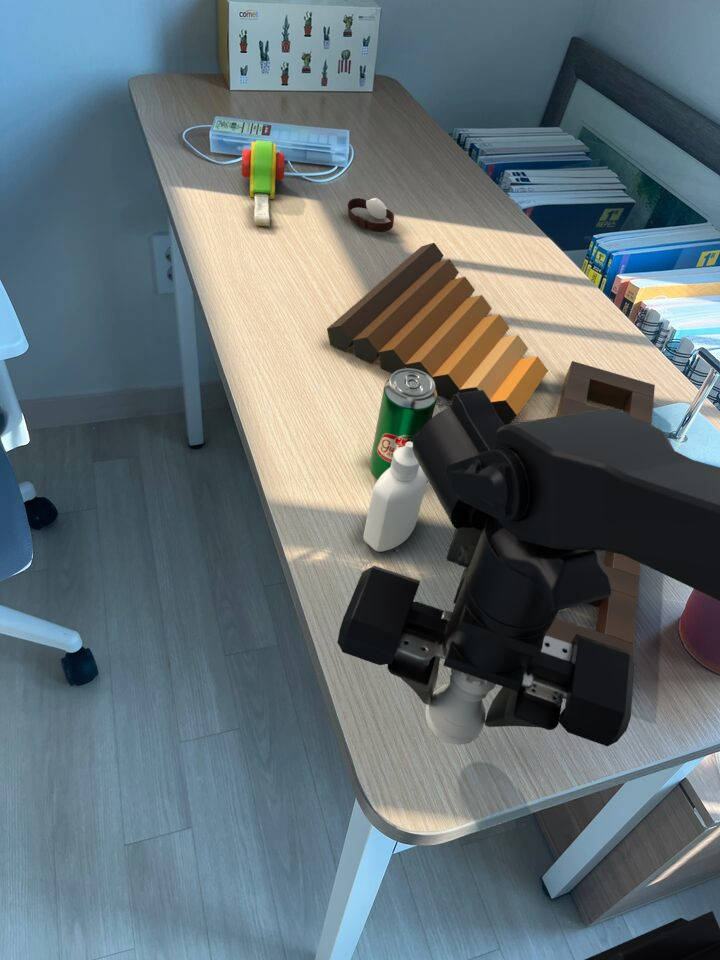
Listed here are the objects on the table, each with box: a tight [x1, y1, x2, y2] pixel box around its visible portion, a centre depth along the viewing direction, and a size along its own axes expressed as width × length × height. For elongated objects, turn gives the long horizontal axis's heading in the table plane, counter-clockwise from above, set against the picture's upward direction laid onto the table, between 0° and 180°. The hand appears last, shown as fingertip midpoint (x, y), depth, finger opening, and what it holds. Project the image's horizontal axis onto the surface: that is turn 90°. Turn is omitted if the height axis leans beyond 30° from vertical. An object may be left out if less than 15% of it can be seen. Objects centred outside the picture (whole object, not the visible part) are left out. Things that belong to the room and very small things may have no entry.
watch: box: [347, 197, 395, 233], centre depth 112 cm, size 8×5×4 cm, turn 56°
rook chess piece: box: [424, 668, 497, 746], centre depth 54 cm, size 4×4×8 cm
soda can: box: [369, 368, 438, 481], centre depth 74 cm, size 5×5×12 cm
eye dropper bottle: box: [362, 442, 428, 553], centre depth 68 cm, size 4×6×12 cm
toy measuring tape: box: [241, 139, 286, 227], centre depth 113 cm, size 6×20×7 cm, turn 4°
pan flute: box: [326, 242, 549, 425], centre depth 95 cm, size 25×3×25 cm
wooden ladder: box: [545, 360, 656, 661], centre depth 77 cm, size 40×10×3 cm, turn 162°
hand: (458, 709), depth 56 cm, fingers closed on rook chess piece, 4 cm apart
